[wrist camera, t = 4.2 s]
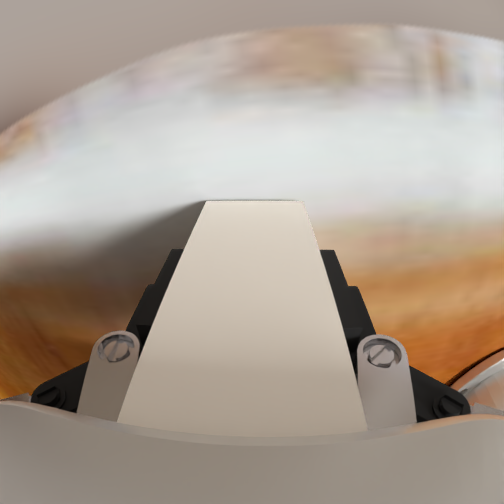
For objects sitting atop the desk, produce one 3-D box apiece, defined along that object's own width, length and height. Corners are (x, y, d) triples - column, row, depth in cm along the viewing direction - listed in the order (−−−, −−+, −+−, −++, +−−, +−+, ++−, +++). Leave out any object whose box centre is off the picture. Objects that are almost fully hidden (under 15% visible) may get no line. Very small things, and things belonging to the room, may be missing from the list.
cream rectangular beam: (297, 281, 15) (326, 528, 5) (212, 280, 15) (164, 522, 5) (303, 200, 13) (378, 482, 3) (206, 201, 13) (100, 470, 3)
